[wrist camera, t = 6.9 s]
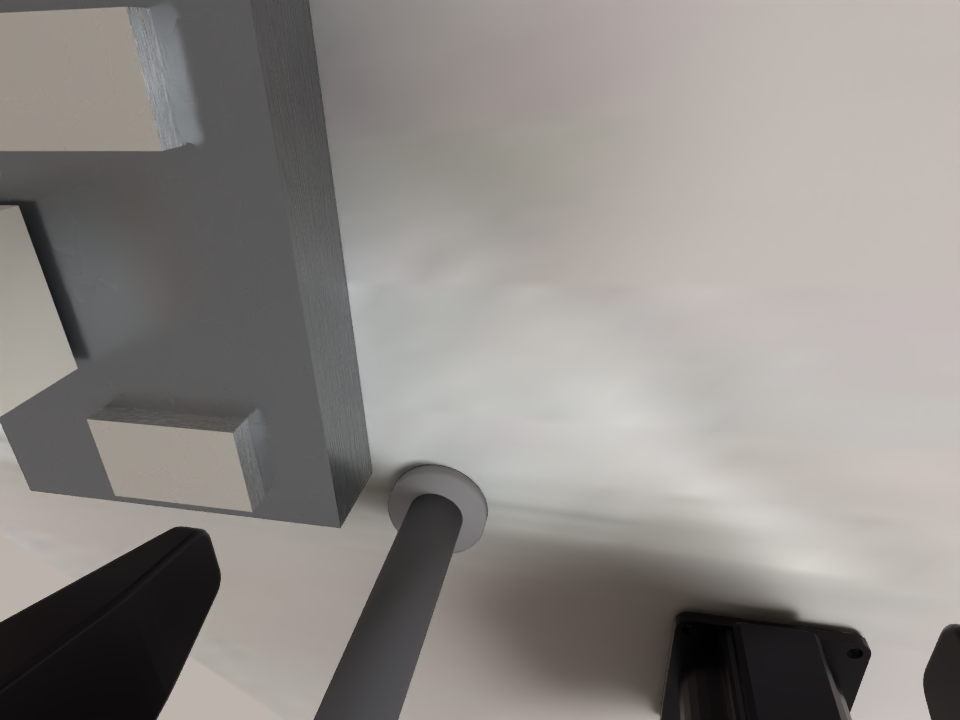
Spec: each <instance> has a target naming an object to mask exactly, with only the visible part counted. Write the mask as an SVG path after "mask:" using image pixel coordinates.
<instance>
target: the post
mask: <svg viewBox="0 0 960 720" xmlns="http://www.w3.org/2000/svg"><path fill="white" fill-rule="evenodd" d="M388 511H389V516H390V519H391V521H392V523H393V525H394V526H395V528H396V529H397V531H398V533H397V536H396V538H395V540H394V542H393V544H392V547H391V549H390V551H389V553H388V556H387V558H386V560H385V562H384V564H383V567H382V569H381V571H380V573H379V576H378V578H377V580H376V582H375V584H374V587H373V589H372V591H371V593H370V596H369V598H368V600H367V602H366V604H365V607H364V609H363V611H362V613H361V616H360V618H359V620H358V622H357V624H356V627H355V629H354V631H353V633H352V636H351V638H350V640H349V642H348V644H347V647H346V649H345V651H344V653H343V656H342V658H341V660H340V662H339V664H338V667H337V669H336V671H335V673H334V676H333V678H332V680H331V682H330V684H329V687H328V689H327V691H326V693H325V696H324V698H323V700H322V702H321V704H320V707H319V709H318V711H317V713H316V716H315V718H314V720H398V718H399V715H400V712H401V709H402V706H403V703H404V700H405V697H406V694H407V691H408V688H409V685H410V682H411V679H412V676H413V672H414V669H415V666H416V663H417V660H418V657H419V654H420V651H421V648H422V645H423V642H424V639H425V636H426V633H427V630H428V627H429V624H430V621H431V618H432V615H433V612H434V608H435V605H436V602H437V599H438V596H439V593H440V590H441V587H442V584H443V581H444V578H445V575H446V572H447V569H448V566H449V563H450V560H451V557H452V554H453V553H457V552H461V551H464V550H466V549H468V548H470V547H472V546H473V545H474V544H475V543H476V542H477V541H478V540H479V539H480V537H481V536H482V533H483V531H484V527H485V523H486V520H487V515H488V508H487V503H486V499H485V497H484V495H483V493H482V491H481V490H480V489H479V487H478V486H477V485H476V484H475V483H474V482H473V481H472V480H471V479H470V478H468V477H467V476H465V475H464V474H462V473H460V472H458V471H456V470H454V469H451V468H448V467H444V466H438V465H425V466H419V467H416V468H413V469H411V470H409V471H407V472H406V473H404V474H403V475H402V476H401V477H400V479H399V480H398V481H397V483H396V485H395V487H394V489H393V491H392V493H391V495H390V498H389V502H388Z"/></svg>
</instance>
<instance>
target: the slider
mask: <svg viewBox="0 0 960 720" xmlns="http://www.w3.org/2000/svg"><path fill="white" fill-rule="evenodd" d="M76 369H78V368H77V365H76V362H75V360H74V357H73V354H72V351H71V349H70V346H69V343H68V340H67V338H66V335H65V332H64V329H63V327H62V324H61V321H60V318H59V316H58V313H57V310H56V307H55V305H54V302H53V299H52V296H51V294H50V291H49V288H48V285H47V283H46V280H45V277H44V274H43V272H42V269H41V266H40V263H39V261H38V258H37V255H36V252H35V250H34V247H33V244H32V241H31V239H30V236H29V233H28V230H27V228H26V225H25V222H24V219H23V217H22V214H21V211H20V208H19V206H17V205H0V417H1V416H2V415H4V414H5V413H7V412H9V411H10V410H12V409H14V408H15V407H17V406H18V405H20V404H22V403H23V402H25V401H26V400H28V399H30V398H31V397H33V396H34V395H36V394H38V393H39V392H41V391H42V390H44V389H46V388H47V387H49V386H51V385H52V384H54V383H55V382H57V381H59V380H60V379H62V378H63V377H65V376H67V375H68V374H70V373H71V372H73V371H75V370H76Z"/></svg>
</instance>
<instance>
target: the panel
mask: <svg viewBox="0 0 960 720" xmlns="http://www.w3.org/2000/svg"><path fill="white" fill-rule="evenodd" d="M0 205H17V206H19V208H20V211H21V214H22V217H23V219H24V222H25V225H26V228H27V230H28V233H29V236H30V239H31V241H32V244H33V247H34V250H35V252H36V255H37V258H38V261H39V263H40V266H41V269H42V272H43V274H44V277H45V280H46V283H47V285H48V288H49V291H50V294H51V296H52V299H53V302H54V305H55V307H56V310H57V313H58V316H59V318H60V321H61V324H62V327H63V329H64V332H65V335H66V338H67V340H68V343H69V346H70V349H71V351H72V354H73V357H74V360H75V362H76V365H77V368H78V369H76V370H75V371H73V372H71V373H70V374H68V375H67V376H65V377H63V378H62V379H60V380H59V381H57V382H55V383H54V384H52V385H51V386H49V387H47V388H46V389H44V390H42V391H41V392H39V393H38V394H36V395H34V396H33V397H31V398H30V399H28V400H26V401H25V402H23V403H22V404H20V405H18V406H17V407H15V408H14V409H12V410H10V411H9V412H7V413H5V414H4V415H2V416H1V417H0V423H1V425H2V427H3V430H4V432H5V434H6V436H7V438H8V441H9V443H10V445H11V447H12V450H13V452H14V454H15V456H16V459H17V461H18V463H19V465H20V468H21V470H22V472H23V474H24V477H25V479H26V481H27V483H28V486H29V488H30V490H31V491H38V492H46V493H55V494H63V495H71V496H79V497H88V498H96V499H104V500H113V501H121V502H129V503H137V504H146V505H154V506H162V507H171V508H179V509H187V510H195V511H204V512H212V513H220V514H228V515H237V516H245V517H253V518H262V519H270V520H278V521H286V522H295V523H303V524H311V525H320V526H328V527H336V528H341V526H342V525H343V523H344V521H345V519H346V518H347V516H348V514H349V512H350V511H351V509H352V507H353V505H354V504H355V502H356V500H357V498H358V496H359V495H360V493H361V491H362V489H363V488H364V486H365V484H366V482H367V481H368V479H369V477H370V475H371V474H372V467H371V460H370V452H369V445H368V437H367V430H366V423H365V415H364V408H363V400H362V393H361V386H360V378H359V371H358V364H357V356H356V349H355V341H354V334H353V327H352V319H351V312H350V304H349V297H348V290H347V282H346V275H345V267H344V260H343V253H342V245H341V238H340V231H339V223H338V216H337V208H336V201H335V194H334V186H333V179H332V171H331V164H330V157H329V149H328V142H327V134H326V127H325V120H324V112H323V105H322V97H321V90H320V83H319V75H318V68H317V61H316V53H315V46H314V38H313V31H312V24H311V16H310V9H309V1H308V0H0Z"/></svg>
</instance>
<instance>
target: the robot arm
mask: <svg viewBox="0 0 960 720" xmlns="http://www.w3.org/2000/svg"><path fill="white" fill-rule="evenodd" d="M220 581H221V573H220V568H219V565H218V562H217V558H216V555H215V552H214V548H213V545H212V542H211V538H210V536H209V534H208V533H207V532H206V531H205V530H203V529H198V528H190V527H182V526H181V527H175V528H172V529H170V530H168V531H166V532H164V533H163V534H161V535H159V536H157V537H155V538H154V539H152V540H150V541H148V542H146V543H144V544H143V545H141V546H139V547H137V548H135V549H133V550H132V551H130V552H128V553H126V554H124V555H122V556H121V557H119V558H117V559H115V560H113V561H112V562H110V563H108V564H106V565H104V566H102V567H101V568H99V569H97V570H95V571H93V572H91V573H90V574H88V575H86V576H84V577H82V578H80V579H79V580H77V581H75V582H73V583H71V584H69V585H68V586H66V587H64V588H62V589H60V590H59V591H57V592H55V593H53V594H51V595H49V596H48V597H46V598H44V599H42V600H40V601H38V602H37V603H35V604H33V605H31V606H29V607H27V608H26V609H24V610H22V611H20V612H18V613H17V614H15V615H13V616H11V617H9V618H7V619H6V620H4V621H2V622H0V720H157V718H158V716H159V714H160V712H161V710H162V709H163V707H164V705H165V703H166V701H167V700H168V698H169V695H170V694H171V692H172V689H173V688H174V685H175V683H176V681H177V679H178V677H179V675H180V673H181V671H182V669H183V666H184V664H185V662H186V660H187V658H188V656H189V653H190V651H191V649H192V647H193V645H194V643H195V640H196V638H197V636H198V634H199V632H200V629H201V627H202V625H203V623H204V621H205V619H206V616H207V614H208V612H209V610H210V608H211V606H212V603H213V601H214V599H215V597H216V595H217V592H218V590H219V586H220ZM687 626H691V627H687ZM870 657H871V651H870V648H869V646H868V643H867V641H866V639H865V638H863V637H862V636H860V635H856V634H851V633H843V632H836V631H828V630H820V629H813V628H805V627H798V626H790V625H783V624H775V623H768V622H760V621H753V620H745V619H738V618H730V617H723V616H715V615H708V614H700V613H693V612H683V613H680V614H678V615H677V616H676V617H675V619H674V625H673V631H672V638H671V644H670V651H669V657H668V664H667V670H666V677H665V683H664V690H663V697H662V703H661V710H660V720H852V719H851V716H850V711H851V708H852V706H853V703H854V700H855V697H856V695H857V692H858V689H859V687H860V684H861V681H862V678H863V676H864V673H865V670H866V668H867V665H868V662H869V659H870ZM923 686H924V693H925V698H926V701H927V705H928V709H929V713H930V716H931V720H960V624H950V625H948V626H946V627H945V628H944V629H943V631H942V632H941V634H940V637H939V639H938V641H937V643H936V646H935V648H934V650H933V653H932V655H931V657H930V660H929V662H928V664H927V667H926V669H925V672H924V678H923Z"/></svg>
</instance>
